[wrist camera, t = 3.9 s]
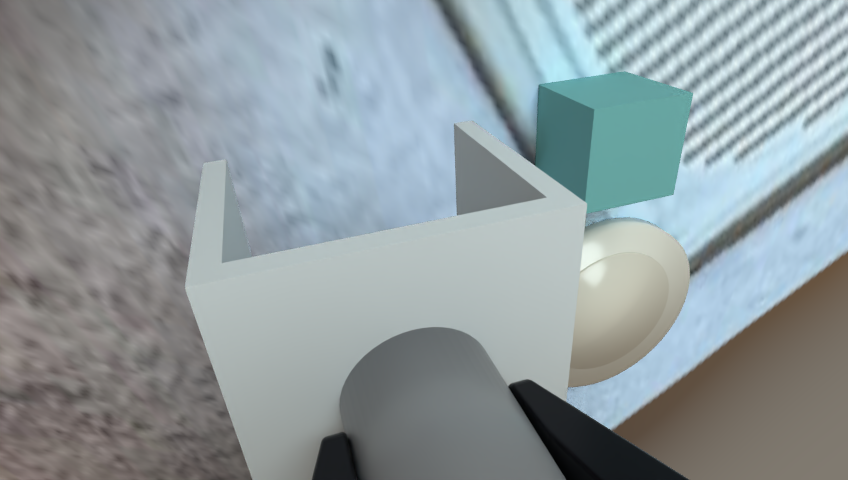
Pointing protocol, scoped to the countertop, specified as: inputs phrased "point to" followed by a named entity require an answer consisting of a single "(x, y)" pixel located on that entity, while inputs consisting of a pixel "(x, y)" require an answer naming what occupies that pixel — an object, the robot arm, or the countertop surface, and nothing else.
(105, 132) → the countertop surface
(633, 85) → the block
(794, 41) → the countertop surface
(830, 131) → the countertop surface
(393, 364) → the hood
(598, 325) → the saucer
